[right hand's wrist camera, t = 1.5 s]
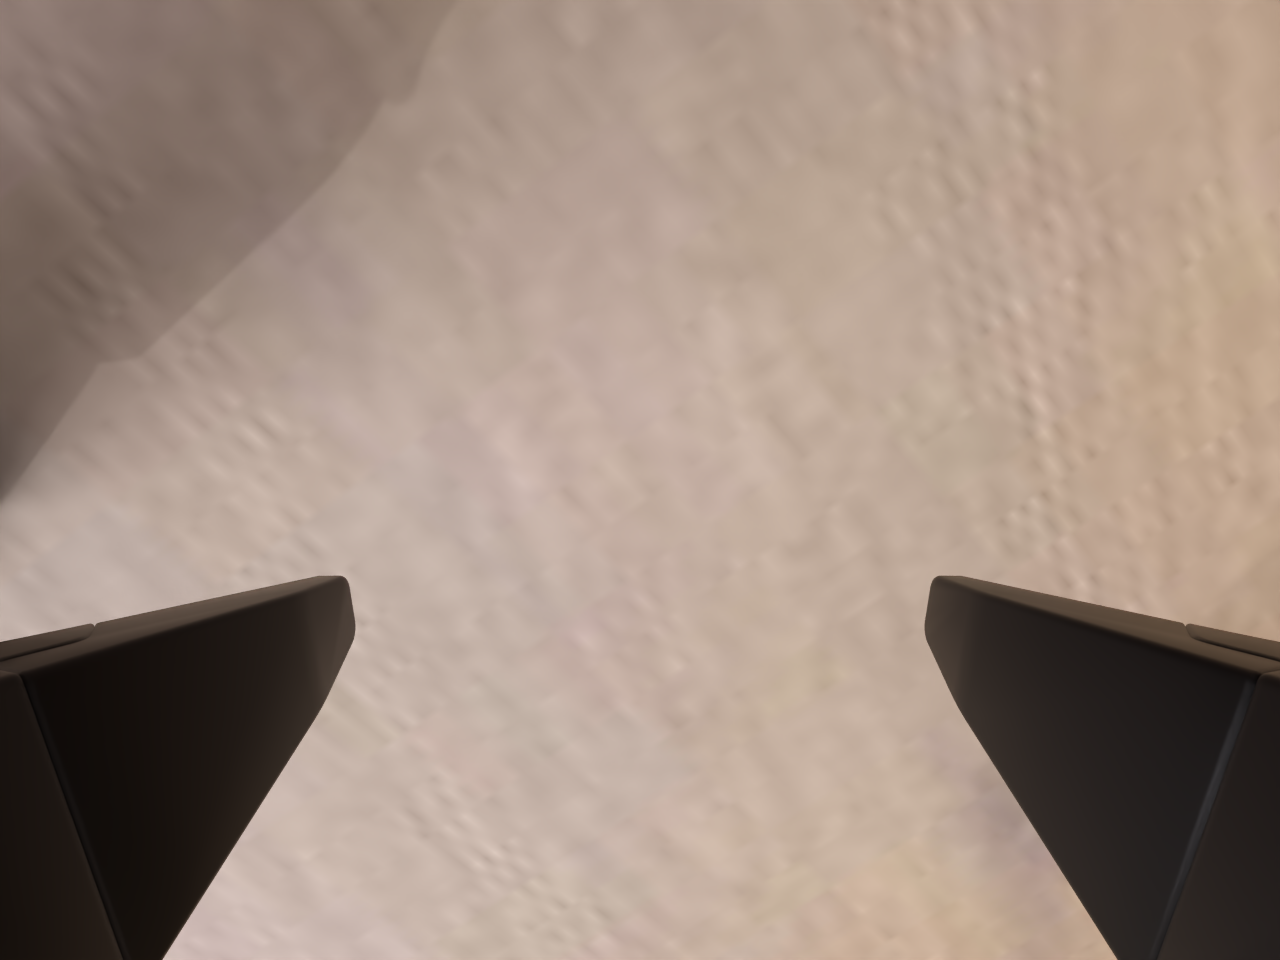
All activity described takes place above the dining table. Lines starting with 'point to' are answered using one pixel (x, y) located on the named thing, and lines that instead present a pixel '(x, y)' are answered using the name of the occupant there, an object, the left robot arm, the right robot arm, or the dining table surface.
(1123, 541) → the dining table surface
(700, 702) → the dining table surface
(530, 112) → the dining table surface
